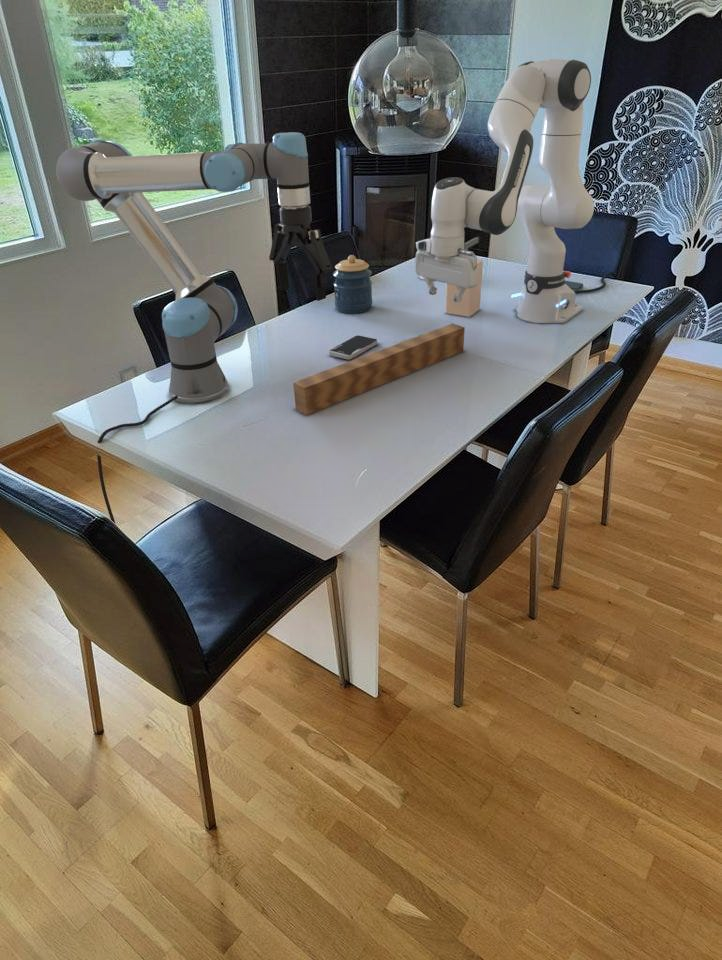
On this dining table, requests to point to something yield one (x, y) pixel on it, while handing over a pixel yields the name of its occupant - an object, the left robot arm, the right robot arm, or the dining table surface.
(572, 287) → the smartphone
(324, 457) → the dining table surface
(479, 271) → the soap dispenser
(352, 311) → the canister
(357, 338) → the smartphone
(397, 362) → the post
